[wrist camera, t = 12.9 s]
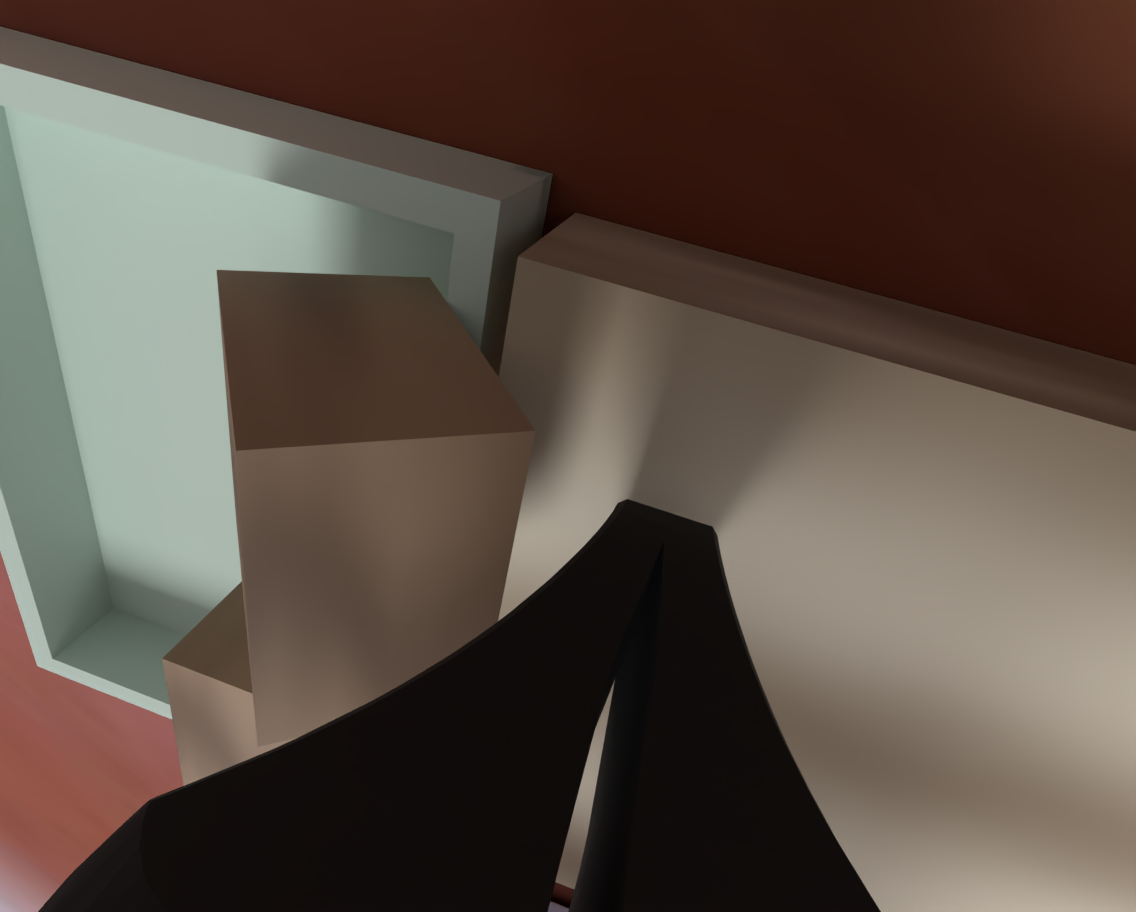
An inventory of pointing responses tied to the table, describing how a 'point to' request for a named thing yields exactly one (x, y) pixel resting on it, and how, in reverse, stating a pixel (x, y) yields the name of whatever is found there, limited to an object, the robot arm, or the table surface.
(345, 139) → the box
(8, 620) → the table surface
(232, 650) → the walnut block
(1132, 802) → the maple board
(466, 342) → the walnut block
